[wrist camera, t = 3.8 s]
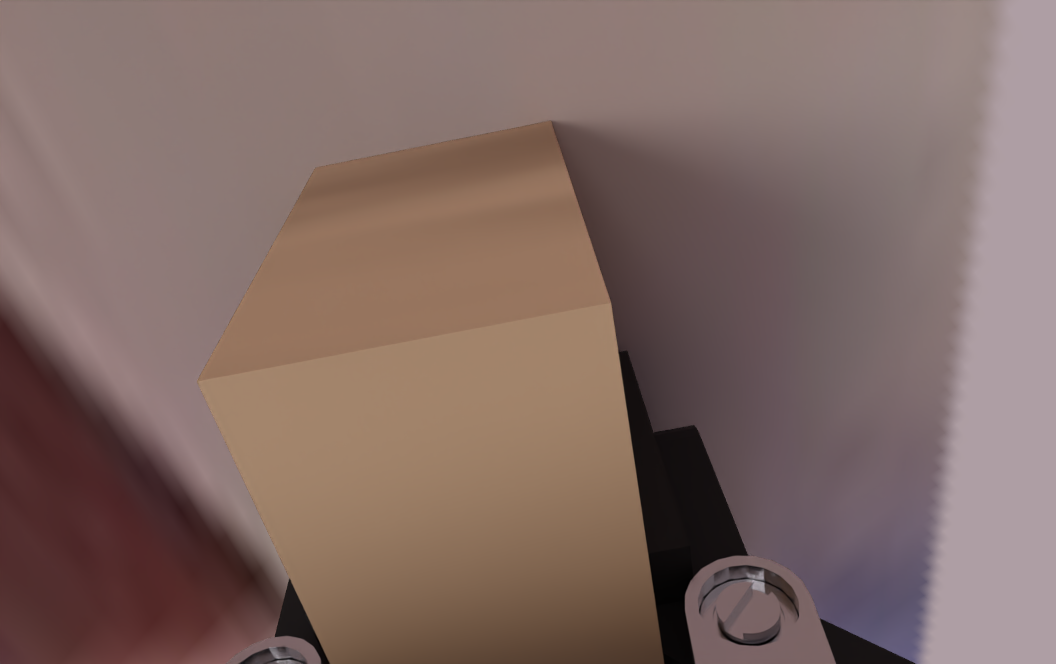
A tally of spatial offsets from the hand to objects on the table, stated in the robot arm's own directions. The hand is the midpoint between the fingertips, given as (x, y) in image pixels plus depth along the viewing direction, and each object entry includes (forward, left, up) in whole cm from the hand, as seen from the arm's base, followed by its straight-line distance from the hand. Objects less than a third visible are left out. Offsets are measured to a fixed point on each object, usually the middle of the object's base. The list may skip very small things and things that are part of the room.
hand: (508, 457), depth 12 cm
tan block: (+2, 0, 0) cm, 2 cm away
